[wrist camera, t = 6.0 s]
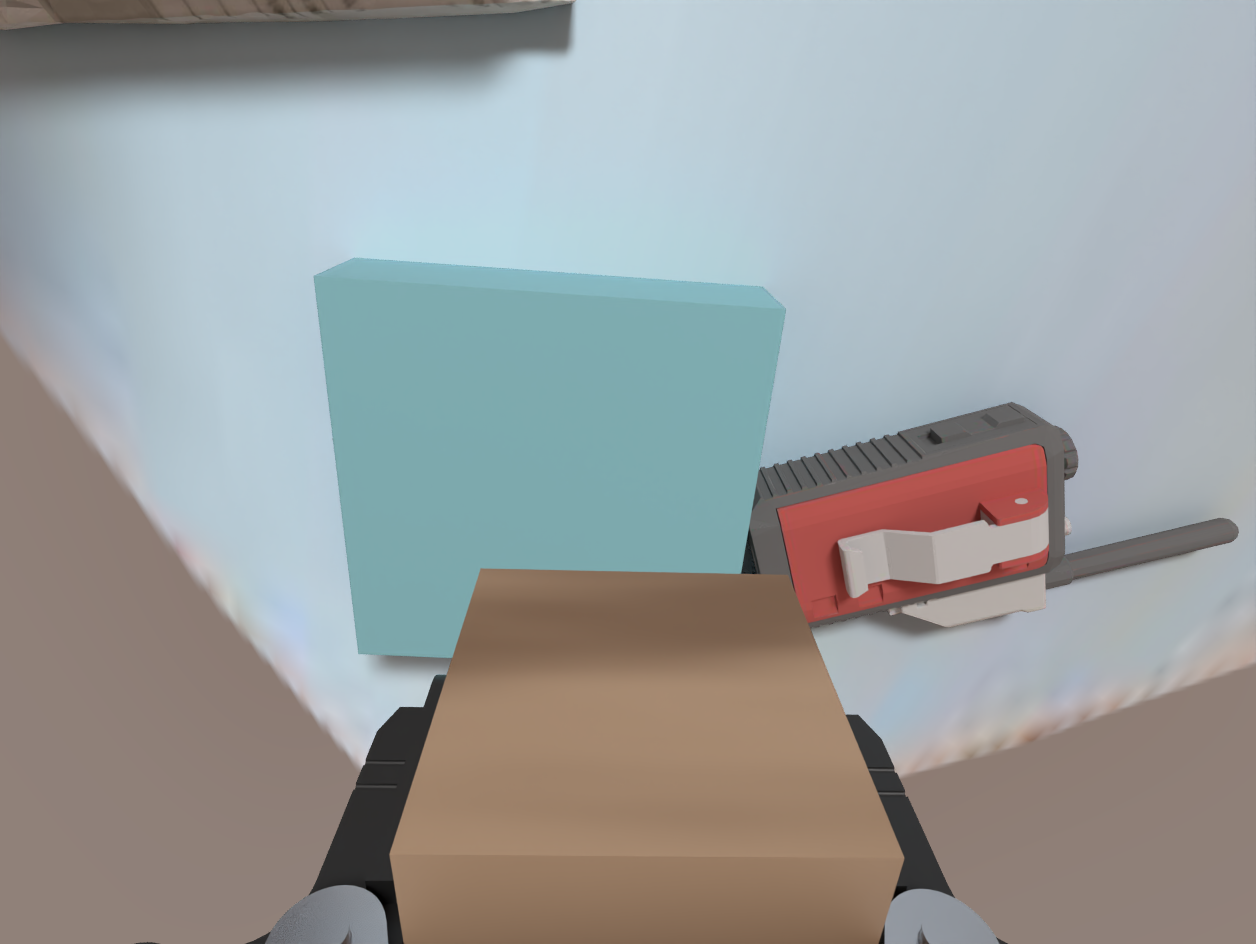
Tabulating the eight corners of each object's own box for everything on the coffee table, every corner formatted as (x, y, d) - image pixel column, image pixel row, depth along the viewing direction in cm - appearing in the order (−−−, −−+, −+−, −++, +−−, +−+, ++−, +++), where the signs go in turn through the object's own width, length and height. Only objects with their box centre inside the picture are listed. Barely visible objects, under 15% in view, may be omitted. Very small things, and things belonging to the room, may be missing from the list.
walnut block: (481, 568, 11) (390, 855, 7) (788, 574, 11) (904, 858, 7) (494, 789, 13) (432, 1120, 9) (753, 792, 13) (824, 1119, 9)
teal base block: (359, 255, 24) (313, 276, 20) (760, 284, 24) (785, 309, 21) (389, 592, 30) (358, 654, 26) (711, 607, 30) (724, 670, 27)
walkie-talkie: (745, 642, 31) (1206, 533, 29) (765, 715, 27) (1300, 594, 25) (701, 474, 28) (1225, 337, 26) (717, 530, 24) (1339, 373, 22)
